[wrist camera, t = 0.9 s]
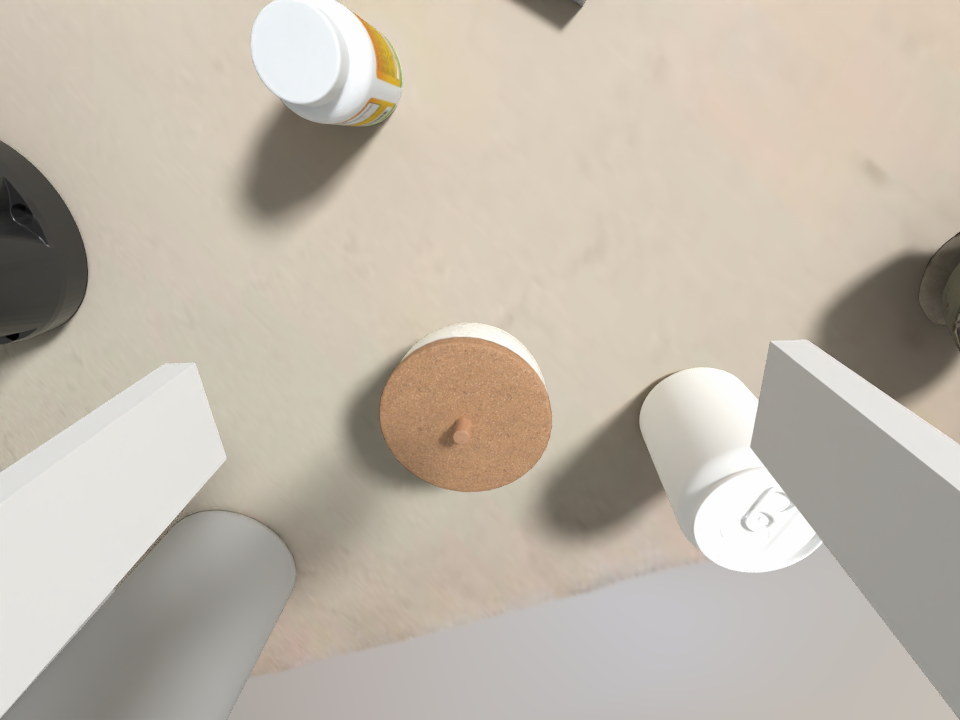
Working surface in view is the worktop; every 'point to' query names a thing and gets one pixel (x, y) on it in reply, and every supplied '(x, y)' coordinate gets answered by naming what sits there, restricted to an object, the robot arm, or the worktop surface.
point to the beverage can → (721, 473)
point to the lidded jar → (467, 409)
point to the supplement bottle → (326, 62)
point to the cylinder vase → (173, 629)
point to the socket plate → (580, 2)
